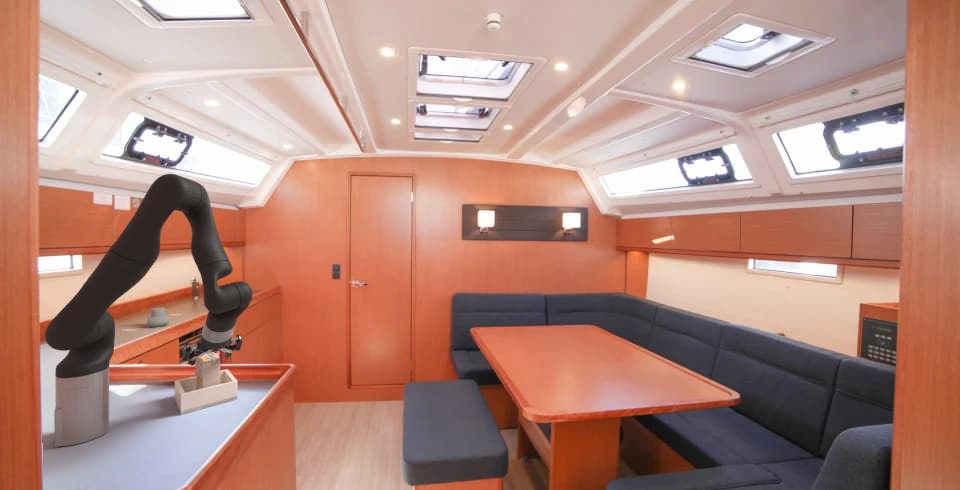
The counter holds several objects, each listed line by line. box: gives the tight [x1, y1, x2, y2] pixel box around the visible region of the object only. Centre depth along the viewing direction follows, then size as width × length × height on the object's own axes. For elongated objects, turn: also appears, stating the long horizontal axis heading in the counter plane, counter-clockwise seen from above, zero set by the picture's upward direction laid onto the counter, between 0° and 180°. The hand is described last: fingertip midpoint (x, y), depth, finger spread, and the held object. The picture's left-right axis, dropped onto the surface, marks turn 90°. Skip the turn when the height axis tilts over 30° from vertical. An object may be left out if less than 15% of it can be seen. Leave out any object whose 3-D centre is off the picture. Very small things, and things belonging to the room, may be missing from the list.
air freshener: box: [147, 306, 170, 328], centre depth 194 cm, size 11×8×10 cm
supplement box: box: [195, 352, 221, 390], centre depth 111 cm, size 8×5×13 cm, turn 51°
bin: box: [174, 368, 239, 416], centre depth 111 cm, size 14×14×6 cm
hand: (209, 359), depth 108 cm, fingers open, 8 cm apart
